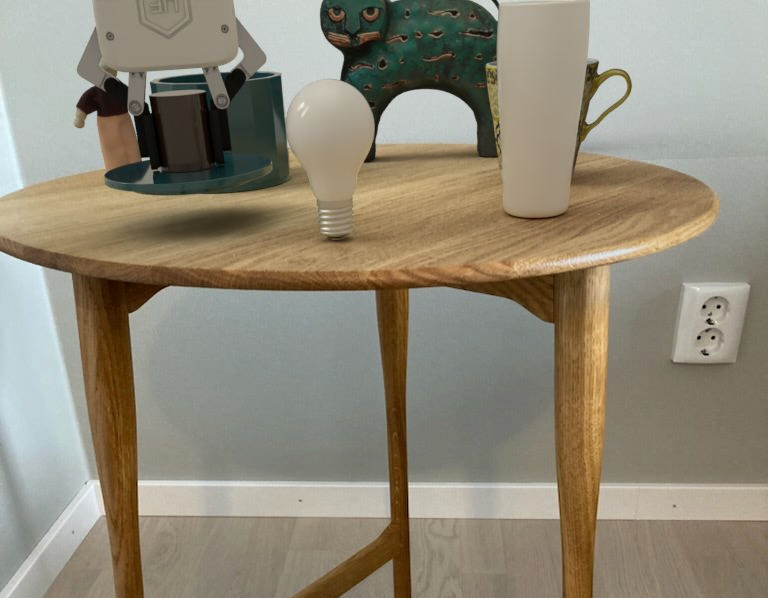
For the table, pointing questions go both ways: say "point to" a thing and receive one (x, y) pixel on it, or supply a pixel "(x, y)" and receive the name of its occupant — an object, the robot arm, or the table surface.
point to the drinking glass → (540, 101)
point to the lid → (185, 153)
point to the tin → (248, 121)
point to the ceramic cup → (589, 90)
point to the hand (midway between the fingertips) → (187, 161)
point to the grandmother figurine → (110, 125)
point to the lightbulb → (331, 147)
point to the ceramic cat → (416, 53)
